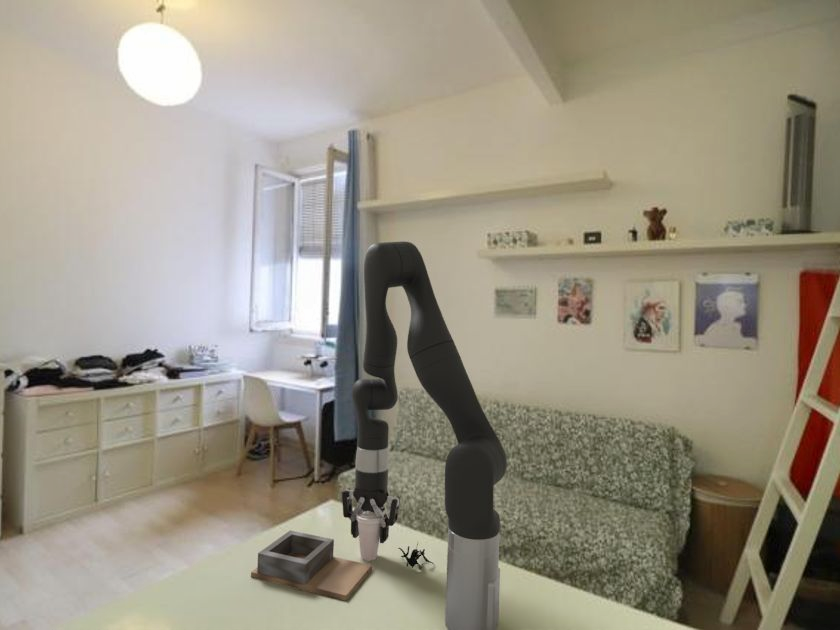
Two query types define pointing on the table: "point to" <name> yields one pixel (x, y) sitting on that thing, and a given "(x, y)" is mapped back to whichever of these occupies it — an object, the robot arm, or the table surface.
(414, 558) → the creature
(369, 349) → the robot arm
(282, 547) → the board
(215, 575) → the table surface
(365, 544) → the smoothie
